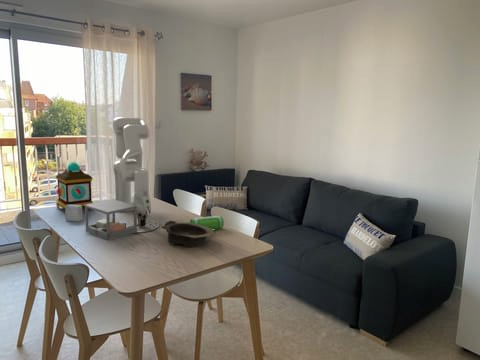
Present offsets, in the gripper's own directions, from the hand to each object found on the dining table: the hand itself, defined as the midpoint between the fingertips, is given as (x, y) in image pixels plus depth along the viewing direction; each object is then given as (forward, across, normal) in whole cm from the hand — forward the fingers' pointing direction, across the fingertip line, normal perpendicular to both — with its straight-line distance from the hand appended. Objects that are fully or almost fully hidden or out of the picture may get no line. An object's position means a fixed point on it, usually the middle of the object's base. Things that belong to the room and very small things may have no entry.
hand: (141, 225), depth 200 cm
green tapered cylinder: (+2, -29, -21) cm, 36 cm away
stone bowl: (+2, -35, -1) cm, 35 cm away
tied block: (+1, 0, +9) cm, 9 cm away
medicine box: (+1, +37, +18) cm, 41 cm away
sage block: (+1, +10, +16) cm, 19 cm away
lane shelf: (+1, +5, +15) cm, 16 cm away
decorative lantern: (+1, +59, +5) cm, 59 cm away
